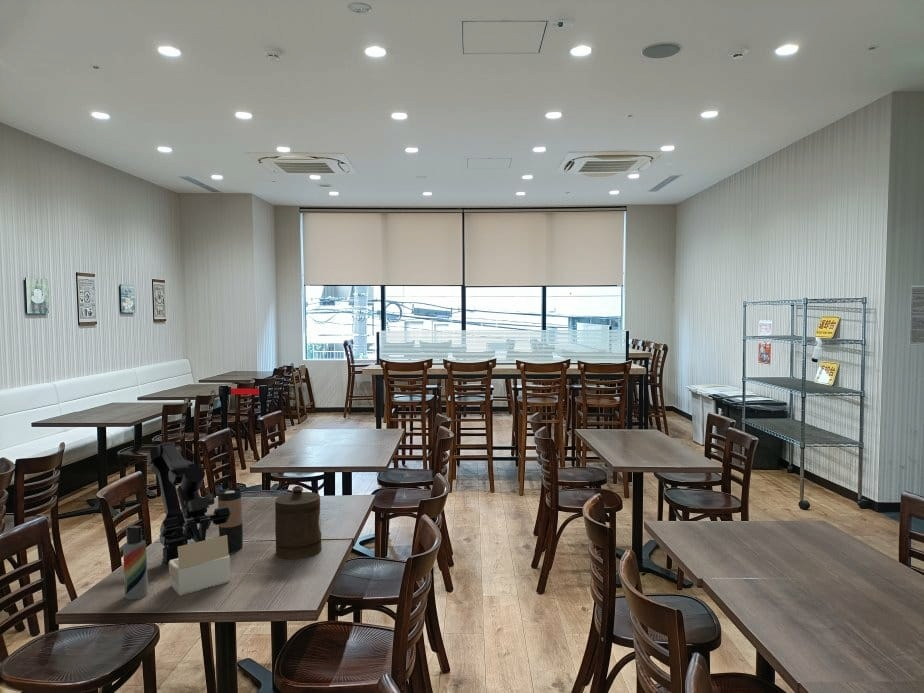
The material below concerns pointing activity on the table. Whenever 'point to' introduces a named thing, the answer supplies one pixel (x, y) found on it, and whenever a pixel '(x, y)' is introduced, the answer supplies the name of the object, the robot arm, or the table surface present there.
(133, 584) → the lotion bottle
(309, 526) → the wooden container
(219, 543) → the top flap
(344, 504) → the table surface
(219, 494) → the travel mug
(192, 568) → the storage box
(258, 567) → the table surface
